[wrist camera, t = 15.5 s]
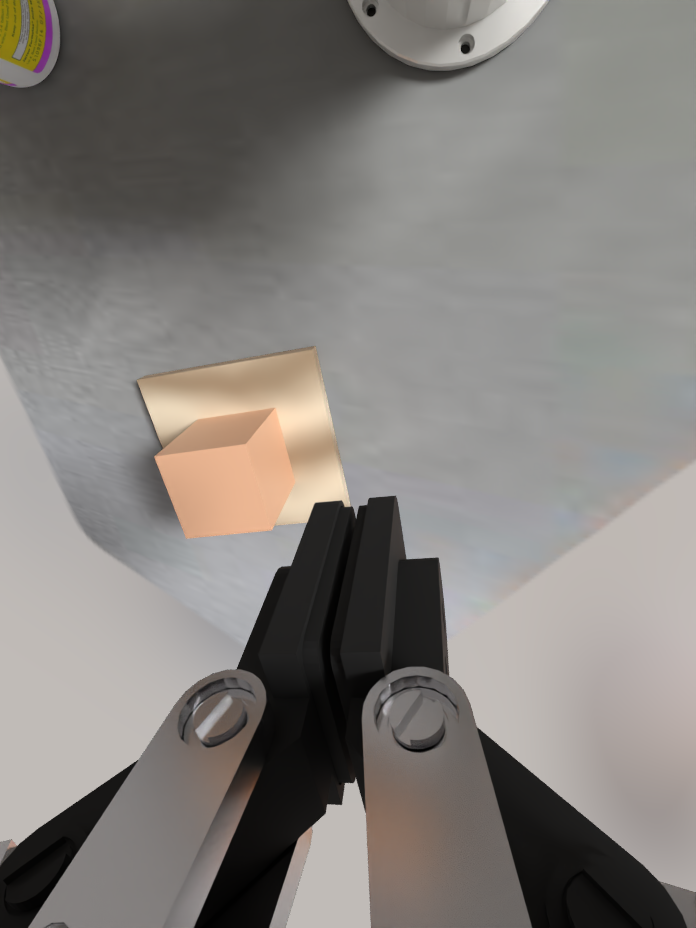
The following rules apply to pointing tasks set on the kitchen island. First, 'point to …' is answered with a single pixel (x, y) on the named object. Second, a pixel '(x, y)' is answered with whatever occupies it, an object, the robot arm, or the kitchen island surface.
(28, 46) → the supplement bottle
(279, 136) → the kitchen island surface
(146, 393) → the birch board
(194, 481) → the peach tan cube
